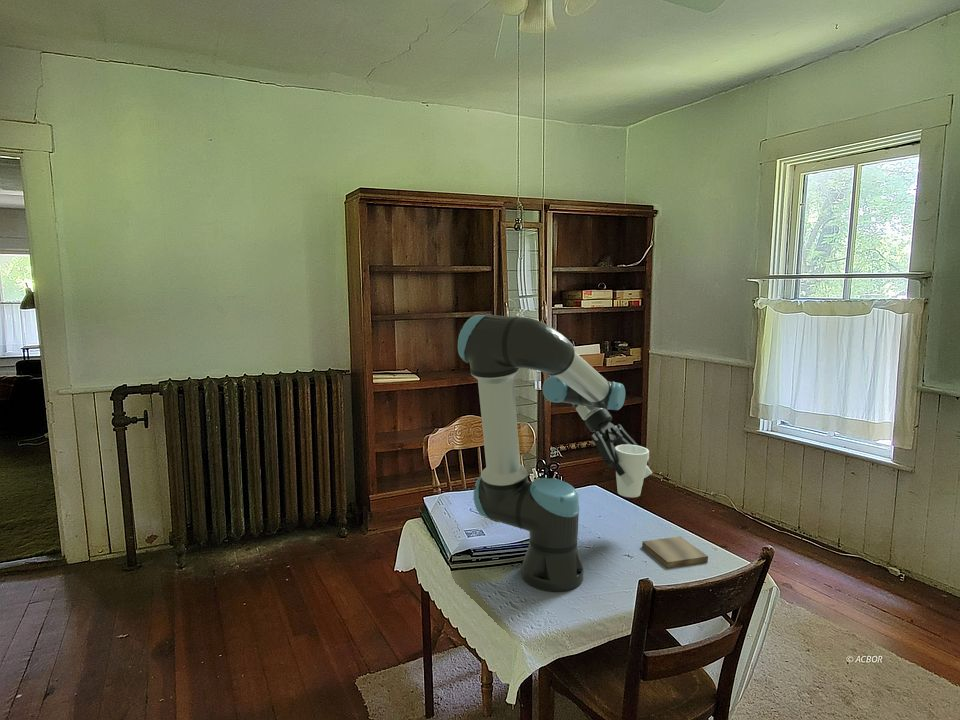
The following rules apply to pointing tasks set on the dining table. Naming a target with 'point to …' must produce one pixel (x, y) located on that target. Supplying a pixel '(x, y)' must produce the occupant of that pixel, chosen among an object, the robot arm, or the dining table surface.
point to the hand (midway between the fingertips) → (640, 479)
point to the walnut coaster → (674, 551)
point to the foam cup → (632, 468)
